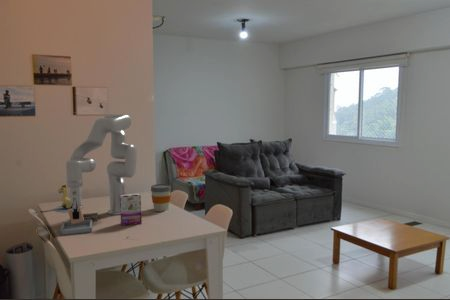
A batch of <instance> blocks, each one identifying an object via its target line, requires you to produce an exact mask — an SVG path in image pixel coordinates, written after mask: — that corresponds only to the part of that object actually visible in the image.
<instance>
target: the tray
mask: <svg viewBox="0 0 450 300" xmlns="http://www.w3.org/2000/svg"><path fill="white" fill-rule="evenodd" d="M93 223H94V222H93V221H92V220H84V221H82V222H78V223H75V224H72V223H71V221H62V223H61V227H60V229H59V235H60V236H68V235H69V234H70V235H77V234H78V235H79V233H80V234H87V233H88V232H90V233H92V231H93ZM70 235H69V236H70Z"/></svg>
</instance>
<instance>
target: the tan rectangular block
mask: <svg viewBox="0 0 450 300" xmlns="http://www.w3.org/2000/svg"><path fill="white" fill-rule="evenodd" d="M81 208H82V207H79V208H78V211H79V219H73V214H72V212H73V209H72V208H71V209H68V210H69V211H68V213H67V214H68V216H69V219H70V222H71V223H72V224H75V223H78V222H82V221H84V217H83V214H84V213H83V211H82V209H81Z"/></svg>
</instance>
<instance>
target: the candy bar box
mask: <svg viewBox="0 0 450 300" xmlns="http://www.w3.org/2000/svg"><path fill="white" fill-rule="evenodd" d="M141 196H142V195H141V193H139V192H138V193H126V194H122V195H120V211H121V214H120V225H121V226H128V225H140V224H142V223H143V222H142V221H143V220H142V201H141V198H142V197H141Z"/></svg>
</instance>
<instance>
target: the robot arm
mask: <svg viewBox="0 0 450 300" xmlns="http://www.w3.org/2000/svg"><path fill="white" fill-rule="evenodd" d="M131 125H132V119H131V116H130V115H128V114H123V113H122V114H121V113H119V114H116V113H115V114H112V113H111V114H106V115H105V116H104V117H100V118H97V119H96V120H95V121H94V124H93V125H92V127H91V129H90V132H89V134H88V135H87V138H86V140H84V141H83V142H82V143H81V144H80V145H78V146H77V147H76V148H75V149H74V151H73V152H72V155H71V156H70V157H69V158H70V159H69V160H67V161H66V163H65V166H66V167H65V169H66V186H67V188H69V198H70V202H71V206H72V207H73V212H72V214H73V219H79V211H78V208H79V206H82V202H83V200H82V189H81V188H82V187H83V173H91V172H93V171H95V169H96V167H97V163H96V161H95V160H94V159H92V158H87V157H86V158H85V156H86V155H87V154H88V153H90V152H92V151H95V150H96V149H100V148H101V147H102V146H103V143H104V141H105V139H106V136H107V135H108V134H110V137H111V139H110V141H111V142H110V157H112V158H113V159H115V160H113V161H111V162H109V163H108V164H107V167H106V172H107V177H108V182H109V183H108V185H109V205H110V206H109V209H108V210H107V214H108V215H112V216H113V215H114V216H115V215H116V216H118V215H121V211H120V195H122V194H127V193H126V192H127V190H126V187H127V186H126V181H125V179H124V178H127V179H130V178H133V177H134V176H135V175H136V172H137V159H138V158H137V155H138V153H137V148H136V146H135V145H134V144H131V143H126V142H127V141H126V140H127V139H126V138H127V137H126V136H127V135H126V132H125V130H127V129H129V128H130V127H131ZM117 160H118V161H117ZM120 160H124V161H120Z"/></svg>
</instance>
